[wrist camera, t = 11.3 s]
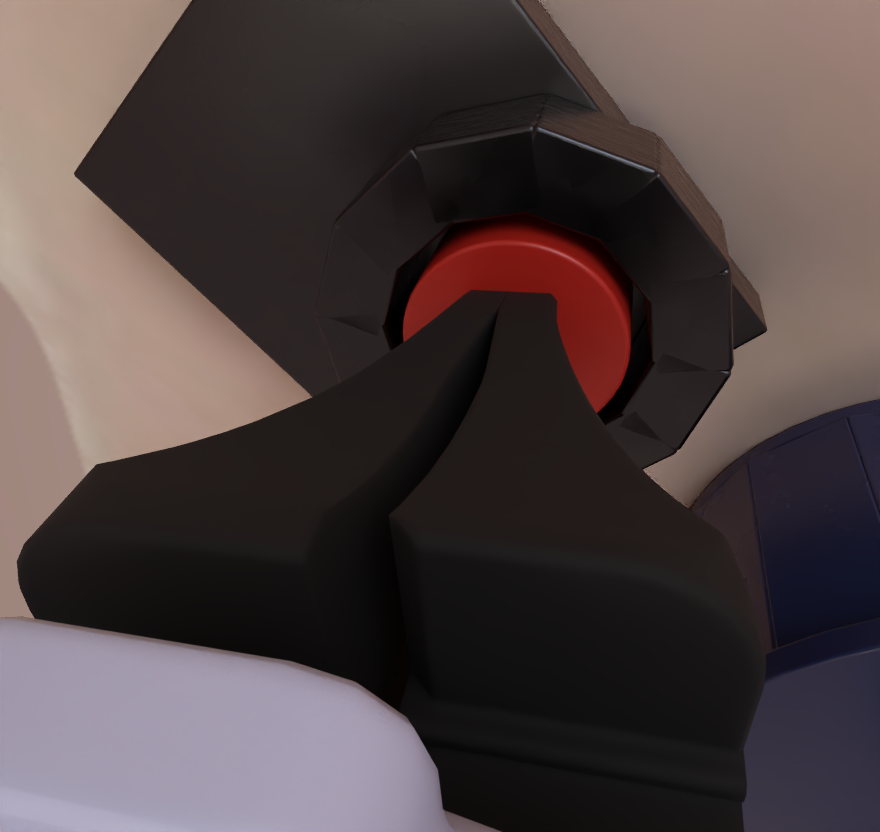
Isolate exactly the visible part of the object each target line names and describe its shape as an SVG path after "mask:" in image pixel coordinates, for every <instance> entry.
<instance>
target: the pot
mask: <svg viewBox="0 0 880 832" xmlns="http://www.w3.org/2000/svg"><path fill="white" fill-rule="evenodd" d="M691 511H692V512H694V513H695V514H696V515H698V516H699V517H701V518H702V519H703V520H705V521H706V522H708V523H709V524H710V525H712V526H713V527H715V528H716V529H717V530H719V531H720V532H722V533H723V535H724V536H725V537H726V538H727V540H728V542H729V544H730V547H731V549H732V551H733V553H734V556H735V558H736V561H737V563H738V565H739V568H740V570H741V572H742V575H743V578H744V580H745V583H746V586H747V588H748V591H749V594H750V597H751V600H752V603H753V606H754V609H755V613H756V616H757V619H758V623H759V627H760V630H761V634H762V638H763V643H764V649H765V653H768V652H770V651H772V650H774V649H776V648H778V647H781V646H784V645H787V644H790V643H793V642H795V641H798V640H801V639H804V638H807V637H810V636H813V635H816V634H819V633H821V632H824V631H828V630H832V629H836V628H840V627H844V626H848V625H852V624H856V623H860V622H864V621H868V620H872V619H876V618H880V400H874V401H869V402H864V403H860V404H857V405H854V406H850V407H847V408H843V409H840V410H837V411H833V412H830V413H826V414H824V415H821V416H819V417H816V418H814V419H811V420H809V421H806V422H804V423H801V424H799V425H796V426H794V427H791V428H790V429H788V430H786V431H784V432H782V433H780V434H778V435H776V436H774V437H772V438H770V439H769V440H767V441H765V442H763V443H761V444H760V445H758V446H757V447H755V448H754V449H752V450H751V451H749V452H748V453H746V454H745V455H743V456H742V457H740V458H739V459H737V460H736V461H735V462H734V463H733V464H731V465H730V466H729V467H728V468H727V469H726V470H725V471H723V472H722V473H721V474H720V475H719V476H718V477H717V478H715V479H714V481H713V482H712V483H711V484H710V485H709V486H708V487H707V489H706V490H705V491H704V492H703V493H702V494H701V495H700V497H699V498H698V499H697V501H696V502H695V504H694V505H693V507H692V509H691Z"/></svg>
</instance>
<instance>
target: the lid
mask: <svg viewBox="0 0 880 832" xmlns="http://www.w3.org/2000/svg"><path fill="white" fill-rule="evenodd" d="M765 656H766V672H765V683H764V689H763V692H762V695H761V698H760V701H759V704H758V707H757V710H756V713H755V716H754V719H753V722H752V725H751V728H750V731H749V734H748V737H747V740H746V743H745V746H744V759H745V769H746V779H747V794H746V798H745V801H744V803H743V802H742V812H743V823H744V832H880V618H876V619H872V620H868V621H864V622H860V623H856V624H852V625H848V626H844V627H840V628H836V629H832V630H828V631H824V632H821V633H819V634H816V635H813V636H810V637H807V638H804V639H801V640H798V641H795V642H793V643H790V644H787V645H784V646H781V647H778V648H776V649H774V650H772V651H770V652H768V653H765Z"/></svg>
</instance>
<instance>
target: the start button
mask: <svg viewBox="0 0 880 832" xmlns="http://www.w3.org/2000/svg"><path fill="white" fill-rule="evenodd" d="M470 290H489V291H511V292H534V293H551V294H552V295H553V296H554V298H555V299H556V300H557V301H558V302H557V324H558V328H559V332H560V336H561V339H562V343H563V345H564V348H565V351H566V353H567V356H568V359H569V361H570V364H571V366H572V368H573V371H574V373H575V375H576V377H577V379H578V381H579V383H580V385H581V387H582V389H583V391H584V393H585V395H586V396H587V398H588V400H589V402H590V403H591V405H592V407H593V408H594V410H595V411H596V413H598V412H599V411H600V410H601V409H602V408H603V407H604V406H605V405H606V404H607V403H608V402H609V401H610V400H611V399H612V397H613V396H614V395H615V393H616V392H617V390H618V389H619V387H620V385H621V383H622V381H623V379H624V377H625V374H626V371H627V367H628V364H629V358H630V350H631V330H632V309H633V288H632V282H631V279H630V278H629V277H628V276H627V275H626V273H625V272H624V271H623V270H622V268H621V267H620V266H619V265H618V264H617V262H616V261H615V260H614V259H613V257H612V256H611V255H610V254H609V253H608V251H607V250H606V249H605V248H604V246H603V245H602V244H601V243H600V242H599V241H598V240H595V239H593V238H590V237H587V236H585V235H582V234H579V233H577V232H574V231H571V230H569V229H566V228H563V227H561V226H558V225H555V224H553V223H550V222H547V221H545V220H542V219H540V218H537V217H534V216H532V215H529V214H526V213H525V214H518V215H512V216H505V217H498V218H491V219H485V220H478V221H471V222H464V223H457V224H455V225H454V226H453V227H452V228H451V229H450V230H449V231H448V232H447V233H446V234H445V236H444V237H443V238H442V239H441V241H440V242H439V244H438V246H437V248H436V249H435V251H434V253H433V255H432V257H431V258H430V260H429V262H428V264H427V266H426V267H425V269H424V271H423V273H422V275H421V277H420V278H419V280H418V282H417V284H416V286H415V287H414V289H413V291H412V293H411V295H410V297H409V300H408V303H407V305H406V309H405V314H404V319H403V341H406V340H407V339H409V338H410V337H411V336H413V335H414V334H415V333H416V332H418V331H419V330H420V329H422V328H423V327H424V326H425V325H427V324H428V323H429V322H431V321H432V320H433V319H434V318H436V317H437V316H438V315H439V314H441V313H442V312H443V311H444V310H446V309H447V308H448V307H449V306H451V305H452V304H453V303H454V302H456V301H457V300H458V299H459V298H461V297H462V296H463V295H464V294H466V293H467V292H469V291H470Z"/></svg>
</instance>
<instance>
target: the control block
mask: <svg viewBox="0 0 880 832" xmlns="http://www.w3.org/2000/svg"><path fill="white" fill-rule="evenodd" d="M74 175H75V176H76V177H77V178H78V179H79V180H80V181H81V182H82V183H83V184H84V185H85V186H87V187H88V188H89V189H90V190H91V191H92V192H93V193H94V194H95V195H96V196H97V197H98V198H99V199H100V200H102V201H103V202H104V203H105V204H106V205H107V206H108V207H109V208H110V209H111V210H112V211H113V212H114V213H116V214H117V215H118V216H119V217H120V218H121V219H122V220H123V221H124V222H125V223H126V224H127V225H128V226H130V227H131V228H132V229H133V230H134V231H135V232H136V233H137V234H138V235H139V236H140V237H141V238H142V239H144V240H145V241H146V242H147V243H148V244H149V245H150V246H151V247H152V248H153V249H154V250H155V251H156V252H158V253H159V254H160V255H161V256H162V257H163V258H164V259H165V260H166V261H167V262H168V263H169V264H170V265H172V266H173V267H174V268H175V269H176V270H177V271H178V272H179V273H180V274H181V275H182V276H183V277H184V278H186V279H187V280H188V281H189V282H190V283H191V284H192V285H193V286H194V287H195V288H196V289H197V290H198V291H200V292H201V293H202V294H203V295H204V296H205V297H206V298H207V299H208V300H209V301H210V302H211V303H212V304H214V305H215V306H216V307H217V308H218V309H219V310H220V311H221V312H222V313H223V314H224V315H225V316H226V317H228V318H229V319H230V320H231V321H232V322H233V323H234V324H235V325H236V326H237V327H238V328H239V329H240V330H242V331H243V332H244V333H245V334H246V335H247V336H248V337H249V338H250V339H251V340H252V341H253V342H254V343H256V344H257V345H258V346H259V347H260V348H261V349H262V350H263V351H264V352H265V353H266V354H267V355H268V356H270V357H271V358H272V359H273V360H274V361H275V362H276V363H277V364H278V365H279V366H280V367H281V368H282V369H283V370H285V371H286V372H287V373H288V374H289V375H290V376H291V377H292V378H293V379H294V380H295V381H296V382H297V383H299V384H300V385H301V386H302V387H303V388H304V389H305V390H306V391H307V392H308V393H309V394H310V395H311V396H313V397H314V396H316V395H318V394H320V393H322V392H324V391H325V390H327V389H329V388H331V387H333V386H335V385H337V384H339V383H341V382H343V381H344V380H346V379H348V378H349V377H351V376H353V375H355V374H356V373H358V372H360V371H361V370H363V369H365V368H366V367H368V366H369V365H371V364H372V363H374V362H375V361H377V360H378V359H379V358H381V357H382V356H384V355H385V354H387V353H388V352H390V351H391V350H393V349H394V348H396V347H397V346H399V345H400V344H402V343H403V342H404V341H403V319H404V314H405V309H406V305H407V303H408V300H409V297H410V295H411V293H412V291H413V289H414V287H415V286H416V284H417V282H418V280H419V278H420V277H421V275H422V273H423V271H424V269H425V267H426V266H427V264H428V262H429V260H430V258H431V257H432V255H433V253H434V251H435V249H436V248H437V246H438V244H439V242H440V241H441V239H442V238H443V237H444V236H445V234H446V233H447V232H448V231H449V230H450V229H451V228H452V227H453V226H454V225H455V224H457V223H464V222H471V221H478V220H485V219H491V218H498V217H505V216H512V215H518V214H525V213H526V214H529V215H532V216H534V217H537V218H540V219H542V220H545V221H547V222H550V223H553V224H555V225H558V226H561V227H563V228H566V229H569V230H571V231H574V232H577V233H579V234H582V235H585V236H587V237H590V238H593V239H595V240H598V241H599V242H600V243H601V244H602V245H603V246H604V248H605V249H606V250H607V251H608V253H609V254H610V255H611V256H612V257H613V259H614V260H615V261H616V262H617V264H618V265H619V266H620V267H621V268H622V270H623V271H624V272H625V273H626V275H627V276H628V277H629V278H630V279H631V282H632V288H633V309H632V330H631V350H630V358H629V364H628V367H627V371H626V374H625V377H624V379H623V381H622V383H621V385H620V387H619V389H618V390H617V392H616V393H615V395H614V396H613V397H612V399H611V400H610V401H609V402H608V403H607V404H606V405H605V406H604V407H603V408H602V409H601V410H600V411H599V412H598V413H597V414H598V416H599V417H600V419H601V420H602V422H603V423H604V425H605V426H606V428H607V429H608V430H609V431H610V433H611V434H612V435H613V437H614V438H615V439H616V441H617V442H618V443H619V445H620V446H621V447H622V448H623V449H624V450H625V451H626V453H627V454H628V455H629V456H630V457H631V458H632V459H633V460H634V461H635V462H636V463H637V464H638V465H639V466H640V468H641V469H642V470H643V469H645V468H647V467H649V466H651V465H653V464H655V463H657V462H659V461H661V460H663V459H665V458H667V457H669V456H672V455H674V454H675V453H676V452H677V450H679V449H680V448H681V447H682V446H683V444H684V443H685V441H686V440H687V438H688V437H689V435H690V434H691V432H692V431H693V430H694V428H695V427H696V425H697V424H698V422H699V421H700V419H701V418H702V416H703V415H704V413H705V412H706V410H707V409H708V408H709V406H710V405H711V403H712V402H713V400H714V399H715V397H716V396H717V394H718V393H719V391H720V390H721V388H722V387H723V386H724V384H725V383H726V381H727V380H728V378H729V377H730V375H731V369H732V367H733V365H734V357H733V350H734V349H736V348H738V347H739V346H741V345H743V344H745V343H747V342H749V341H750V340H752V339H754V338H756V337H758V336H760V335H761V334H763V333H765V332H766V331H767V327H766V323H765V319H764V314H763V310H762V306H761V302H760V298H759V295H758V293H757V292H756V291H755V289H754V288H753V287H752V285H751V284H750V283H749V281H748V280H747V279H746V277H745V276H744V275H743V273H742V272H741V271H740V269H739V268H738V267H737V265H736V264H735V263H734V261H733V260H732V259H731V257H730V256H729V254H728V248H727V243H726V238H725V232H724V229H723V226H722V220H721V218H720V217H719V216H718V214H717V213H716V212H715V210H714V209H713V208H712V206H711V205H710V204H709V202H708V201H707V200H706V198H705V197H704V195H703V194H702V193H701V191H700V190H699V189H698V187H697V186H696V185H695V183H694V182H693V181H692V179H691V178H690V177H689V175H688V174H687V172H686V171H685V170H684V168H683V167H682V166H681V164H680V163H679V162H678V160H677V159H676V158H675V156H674V155H673V153H672V152H671V151H670V149H669V148H668V147H667V145H666V144H665V143H664V141H663V140H662V139H661V138H660V137H657V135H656V134H655V133H653V132H650V131H648V130H645V129H642V128H640V127H637V126H634V125H632V124H630V123H629V121H628V120H627V119H626V117H625V116H624V115H623V113H622V112H621V111H620V109H619V108H618V107H617V105H616V104H615V103H614V101H613V100H612V99H611V97H610V96H609V95H608V93H607V92H606V91H605V89H604V88H603V87H602V85H601V84H600V83H599V81H598V80H597V79H596V77H595V76H594V75H593V73H592V72H591V71H590V69H589V68H588V67H587V65H586V64H585V63H584V61H583V60H582V59H581V57H580V56H579V55H578V53H577V52H576V51H575V49H574V48H573V47H572V45H571V44H570V43H569V41H568V40H567V39H566V37H565V36H564V35H563V33H562V32H561V31H560V29H559V28H558V27H557V25H556V24H555V23H554V21H553V20H552V19H551V17H550V16H549V15H548V13H547V12H546V11H545V9H544V8H543V7H542V5H541V4H540V3H539V1H538V0H192V1H191V2H190V4H189V5H188V7H187V8H186V10H185V11H184V13H183V14H182V16H181V17H180V18H179V20H178V21H177V23H176V24H175V26H174V27H173V29H172V30H171V32H170V33H169V35H168V36H167V37H166V39H165V40H164V42H163V43H162V45H161V46H160V48H159V49H158V51H157V52H156V54H155V55H154V56H153V58H152V59H151V61H150V62H149V64H148V65H147V67H146V68H145V70H144V71H143V73H142V74H141V75H140V77H139V78H138V80H137V81H136V83H135V84H134V86H133V87H132V89H131V90H130V92H129V93H128V94H127V96H126V97H125V99H124V100H123V102H122V103H121V105H120V106H119V108H118V109H117V111H116V112H115V114H114V115H113V116H112V118H111V119H110V121H109V122H108V124H107V125H106V127H105V128H104V130H103V131H102V133H101V134H100V135H99V137H98V138H97V140H96V141H95V143H94V144H93V146H92V147H91V149H90V150H89V152H88V153H87V154H86V156H85V157H84V159H83V160H82V162H81V163H80V165H79V166H78V168H77V169H76V171H75V173H74Z"/></svg>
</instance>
